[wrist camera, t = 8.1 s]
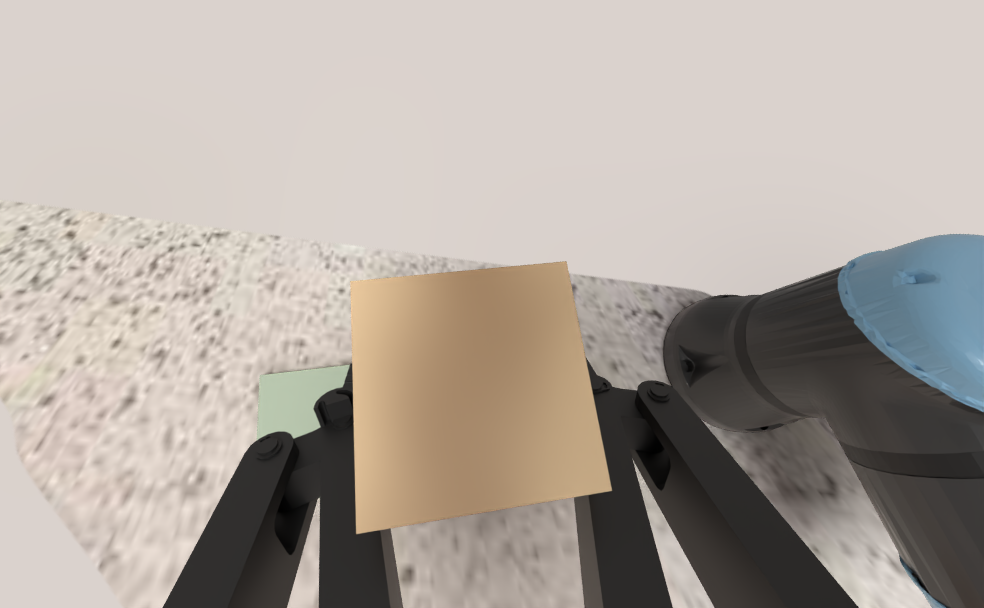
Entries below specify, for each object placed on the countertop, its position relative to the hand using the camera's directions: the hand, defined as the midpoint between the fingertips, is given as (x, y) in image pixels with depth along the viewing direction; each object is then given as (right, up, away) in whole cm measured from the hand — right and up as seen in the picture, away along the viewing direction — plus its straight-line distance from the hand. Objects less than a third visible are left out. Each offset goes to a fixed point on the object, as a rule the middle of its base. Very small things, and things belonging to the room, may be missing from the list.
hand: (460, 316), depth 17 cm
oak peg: (0, -5, +4) cm, 6 cm away
